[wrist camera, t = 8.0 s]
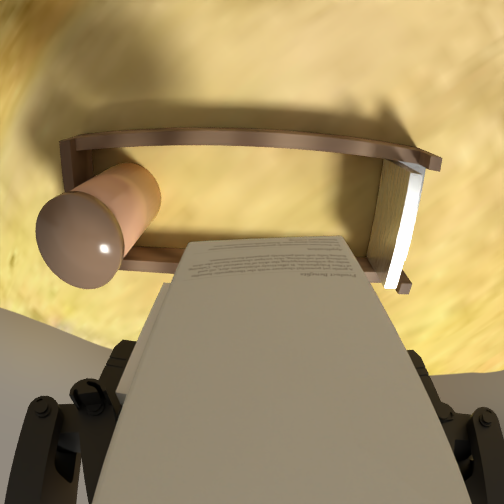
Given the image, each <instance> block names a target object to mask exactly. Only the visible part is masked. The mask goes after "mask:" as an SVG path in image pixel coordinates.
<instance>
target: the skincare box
mask: <svg viewBox="0 0 504 504" xmlns="http://www.w3.org/2000/svg"><path fill="white" fill-rule="evenodd" d="M92 504H472V503H471V500H470V497H469V494H468V492H467V489H466V486H465V483H464V480H463V478H462V475H461V472H460V470H459V467H458V464H457V462H456V459H455V457H454V454H453V452H452V449H451V447H450V444H449V442H448V439H447V437H446V435H445V432H444V430H443V427H442V425H441V423H440V421H439V418H438V416H437V414H436V412H435V409H434V407H433V405H432V403H431V400H430V398H429V396H428V394H427V392H426V390H425V388H424V386H423V383H422V381H421V379H420V377H419V375H418V373H417V371H416V369H415V367H414V365H413V362H412V360H411V358H410V356H409V354H408V352H407V350H406V349H405V347H404V345H403V343H402V341H401V339H400V337H399V335H398V333H397V331H396V329H395V327H394V325H393V324H392V322H391V320H390V318H389V316H388V314H387V312H386V311H385V309H384V307H383V305H382V303H381V302H380V300H379V298H378V296H377V294H376V293H375V291H374V289H373V287H372V286H371V284H370V282H369V280H368V279H367V277H366V275H365V273H364V272H363V270H362V268H361V266H360V265H359V263H358V261H357V260H356V258H355V256H354V255H353V253H352V251H351V250H350V248H349V246H348V245H347V243H346V242H345V240H344V238H343V237H342V236H314V237H284V238H259V239H236V240H215V241H197V242H190V243H188V245H187V247H186V249H185V251H184V253H183V255H182V257H181V260H180V262H179V264H178V267H177V269H176V272H175V274H174V276H173V279H172V282H171V284H170V286H169V289H168V291H167V293H166V296H165V298H164V301H163V303H162V305H161V308H160V310H159V313H158V315H157V317H156V320H155V322H154V325H153V327H152V330H151V332H150V335H149V337H148V340H147V342H146V345H145V348H144V350H143V353H142V355H141V358H140V361H139V363H138V366H137V369H136V371H135V374H134V377H133V379H132V382H131V385H130V387H129V390H128V393H127V395H126V398H125V401H124V404H123V407H122V410H121V412H120V415H119V418H118V421H117V424H116V427H115V430H114V433H113V436H112V439H111V442H110V445H109V448H108V451H107V454H106V457H105V461H104V464H103V467H102V470H101V474H100V477H99V480H98V484H97V487H96V491H95V494H94V498H93V501H92Z"/></svg>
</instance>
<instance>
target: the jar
mask: <svg viewBox="0 0 504 504" xmlns="http://www.w3.org/2000/svg"><path fill="white" fill-rule="evenodd" d="M160 205H161V193H160V189H159V186H158V183H157V181H156V179H155V178H154V177H153V175H152V174H151V173H150V172H149V171H148V170H147V169H145V168H144V167H142V166H140V165H137V164H134V163H120V164H117V165H114V166H112V167H111V168H109V169H107V170H105V171H103V172H102V173H100V174H98V175H96V176H95V177H93V178H91V179H89V180H88V181H86V182H84V183H82V184H81V185H79V186H77V187H76V188H74V189H72V190H71V191H68V192H64V193H62V194H60V195H58V196H56V197H54V198H53V199H51V200H50V201H48V202H47V203H46V204H45V205H44V206H43V208H42V209H41V211H40V213H39V215H38V218H37V222H36V240H37V245H38V248H39V251H40V253H41V255H42V257H43V259H44V261H45V263H46V264H47V265H48V267H49V268H50V269H51V270H52V272H53V273H54V274H55V275H57V276H58V277H59V278H60V279H62V280H63V281H64V282H66V283H68V284H70V285H72V286H75V287H78V288H82V289H95V288H99V287H101V286H103V285H105V284H107V283H108V282H109V281H110V280H111V279H112V278H113V276H114V275H115V273H116V272H117V271H118V269H119V268H120V266H121V264H122V261H123V258H124V257H125V255H126V254H127V253H128V251H129V250H130V249H131V248H132V246H133V245H134V244H135V242H136V241H137V240H138V239H139V237H140V236H141V235H142V233H143V232H144V231H145V230H146V228H147V227H148V226H149V225H150V223H151V222H152V221H153V220H154V218H155V217H156V215H157V214H158V211H159V209H160Z"/></svg>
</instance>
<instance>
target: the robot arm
mask: <svg viewBox="0 0 504 504" xmlns="http://www.w3.org/2000/svg"><path fill="white" fill-rule="evenodd" d="M170 284H171V283H163V286H162V288H161V290H160V292H159V294H158V296H157V298H156V300H155V303H154V305H153V307H152V309H151V311H150V313H149V316H148V318H147V320H146V322H145V324H144V327H143V329H142V331H141V333H140V335H139V338H138V340H137V342H136V341H129V340H122V341H121V342H120V343H119V344H118V345H116V346H115V347H114V349H113V351H112V353H111V355H110V358H109V360H108V361H107V363H106V366H105V368H104V370H103V372H102V374H101V376H100V379H99V380H96V379H88V378H86V379H83V380H80V381H78V382H77V383H75V384H74V386H73V387H72V388H71V390H70V394H69V395H70V397H71V399H72V401H73V402H74V404H58V403H57V402H56V400H54V399H53V398H52V397H49V396H40V397H38V398H35V399H34V400H33V401H32V402H31V403H30V405H29V407H28V410H27V413H26V416H25V419H24V423H23V426H22V430H21V433H20V436H19V441H18V444H17V448H16V451H15V456H14V460H13V464H12V468H11V472H10V477H9V482H8V487H7V493H6V498H5V504H76V500H77V490H78V481H79V472H80V465H81V457H82V464H83V472H84V479H85V485H86V491H87V496H88V502H89V504H92V501H93V498H94V494H95V491H96V487H97V484H98V480H99V477H100V474H101V470H102V467H103V464H104V461H105V457H106V454H107V451H108V448H109V445H110V442H111V439H112V436H113V433H114V430H115V427H116V424H117V421H118V418H119V415H120V412H121V410H122V407H123V404H124V401H125V398H126V395H127V393H128V390H129V387H130V385H131V382H132V379H133V377H134V374H135V371H136V369H137V366H138V363H139V361H140V358H141V355H142V353H143V350H144V348H145V345H146V342H147V340H148V337H149V335H150V332H151V330H152V327H153V325H154V322H155V320H156V317H157V315H158V313H159V310H160V308H161V305H162V303H163V301H164V298H165V296H166V293H167V291H168V289H169V286H170ZM375 293H376V292H375ZM407 352H408V354H409V356H410V358H411V360H412V362H413V365H414V367H415V369H416V371H417V373H418V375H419V377H420V379H421V381H422V383H423V386H424V388H425V390H426V392H427V394H428V396H429V398H430V400H431V403H432V405H433V407H434V409H435V412H436V414H437V416H438V418H439V421H440V423H441V425H442V427H443V430H444V432H445V435H446V437H447V439H448V442H449V444H450V447H451V449H452V452H453V454H454V457H455V459H456V462H457V464H458V467H459V470H460V472H461V475H462V478H463V480H464V483H465V486H466V489H467V492H468V494H469V497H470V500H471V503H472V504H504V439H503V435H502V432H501V428H500V424H499V421H498V418H497V416H496V414H495V413H494V412H493V411H492V410H491V409H489V408H486V407H481V408H478V409H476V410H475V411H474V413H473V414H472V415H469V414H460V413H455V412H454V410H453V409H452V408H451V407H450V406H449V405H447V404H445V403H443V402H441V401H440V399H439V396H438V394H437V391H436V389H435V387H434V385H433V382H432V380H431V378H430V376H428V372H427V369H425V365H424V363H423V361H422V359H421V357H420V356H419V355H418V354H417V353H416V352H415V351H414V350H407Z"/></svg>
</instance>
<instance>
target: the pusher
mask: <svg viewBox="0 0 504 504" xmlns="http://www.w3.org/2000/svg"><path fill="white" fill-rule="evenodd" d="M425 169H426V168H425V167H423V166H421V165H419V164H414V163H409V162H402V161H396V160H390V159H384V160H383V167H382V174H381V180H380V187H379V193H378V199H377V205H376V210H375V216H374V221H373V226H372V231H371V236H370V241H369V246H368V251H367V255H366V257H367V258H368V260H369V262H370V264H371V265H372V267H373V269H374V271H375V272H376V274H377V276H378V278H379V279H380V281H381V283H382V285H383V287H384V288H396V287H397V283H398V280H399V277H400V273H401V270H402V266H403V262H404V260H406V256H407V252H408V249H409V245H410V241H411V237H412V233H413V228H414V224H415V220H416V215H417V211H418V206H419V201H420V196H421V191H422V186H423V181H424V175H425Z"/></svg>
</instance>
